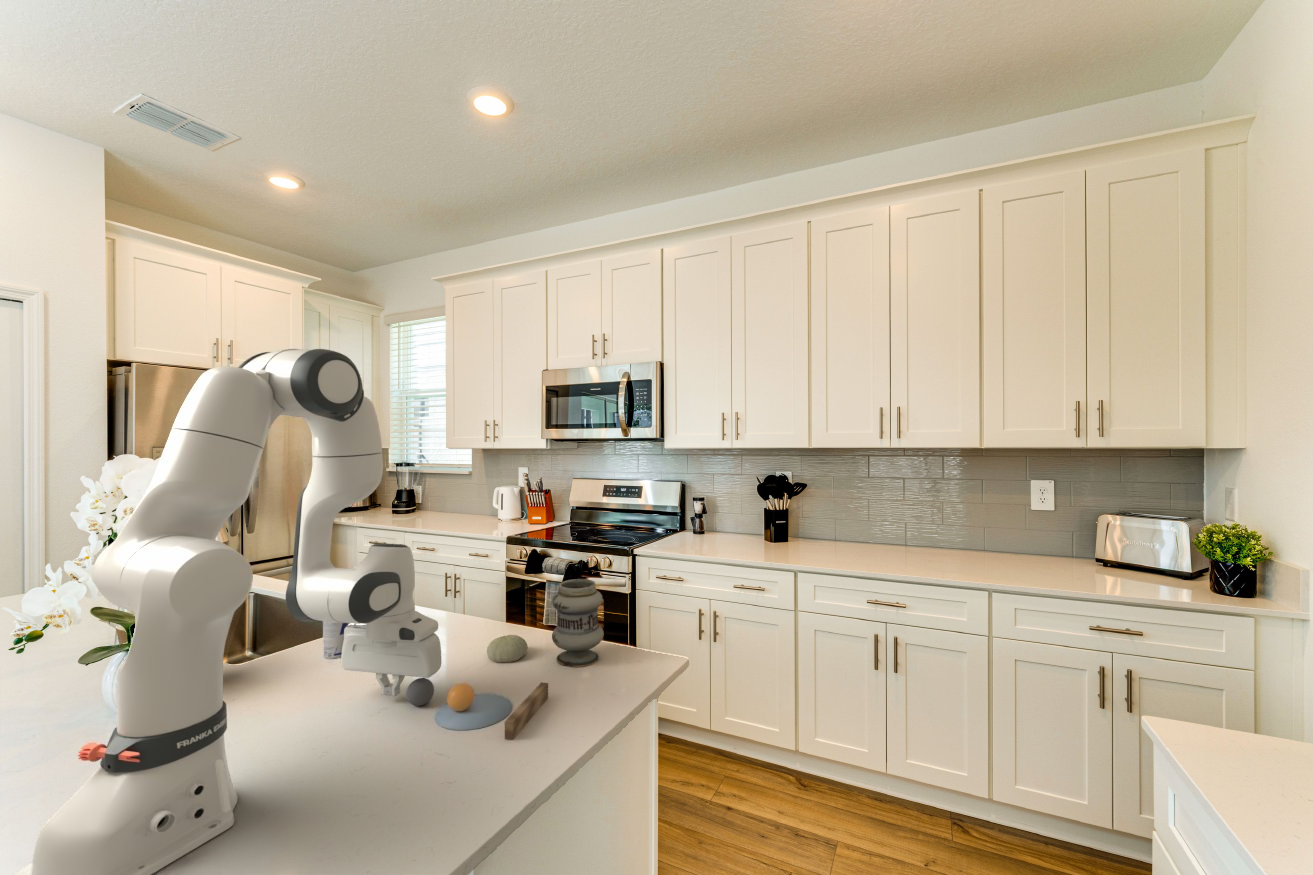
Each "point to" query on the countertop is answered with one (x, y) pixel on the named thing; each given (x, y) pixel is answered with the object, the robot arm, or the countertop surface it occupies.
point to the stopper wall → (526, 711)
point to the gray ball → (420, 691)
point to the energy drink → (333, 639)
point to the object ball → (460, 697)
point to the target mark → (475, 713)
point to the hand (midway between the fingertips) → (390, 694)
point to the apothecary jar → (577, 622)
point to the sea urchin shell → (507, 648)
